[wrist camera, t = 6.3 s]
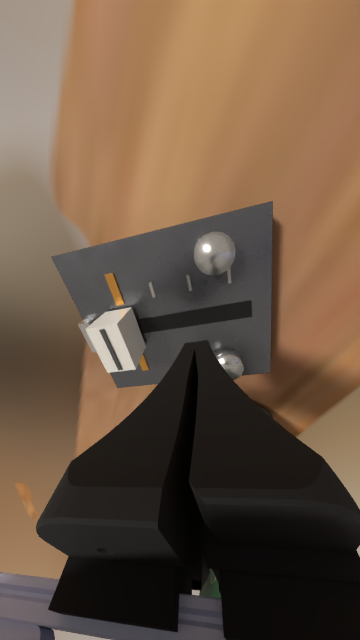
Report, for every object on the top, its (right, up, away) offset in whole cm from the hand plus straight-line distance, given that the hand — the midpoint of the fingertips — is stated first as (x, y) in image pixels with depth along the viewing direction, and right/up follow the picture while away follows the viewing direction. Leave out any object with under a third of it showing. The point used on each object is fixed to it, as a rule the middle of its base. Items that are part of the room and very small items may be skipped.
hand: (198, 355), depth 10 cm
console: (-2, +3, +7) cm, 8 cm away
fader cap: (-6, +1, +6) cm, 8 cm away
